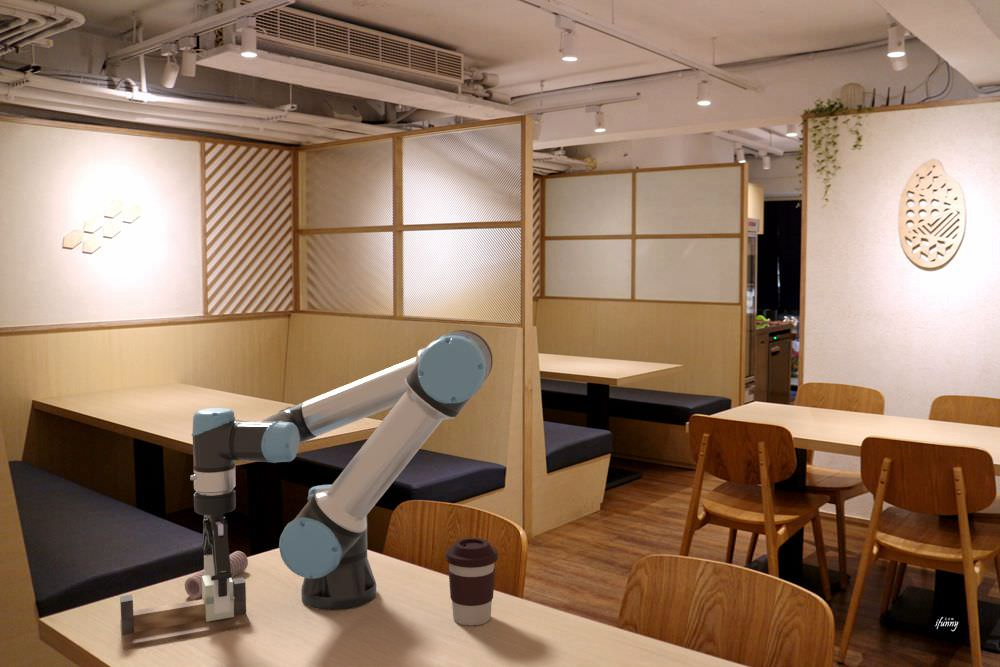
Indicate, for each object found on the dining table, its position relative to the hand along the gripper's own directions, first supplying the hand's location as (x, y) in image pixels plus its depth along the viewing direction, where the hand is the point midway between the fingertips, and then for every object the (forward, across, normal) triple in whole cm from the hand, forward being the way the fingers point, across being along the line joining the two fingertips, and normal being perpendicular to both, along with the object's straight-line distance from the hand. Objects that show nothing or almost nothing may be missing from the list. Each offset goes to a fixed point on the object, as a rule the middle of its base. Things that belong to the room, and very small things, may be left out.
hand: (216, 598), depth 165 cm
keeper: (+3, 0, 0) cm, 3 cm away
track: (+4, 0, -6) cm, 7 cm away
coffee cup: (+4, +21, +44) cm, 49 cm away
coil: (+5, -19, +3) cm, 20 cm away
